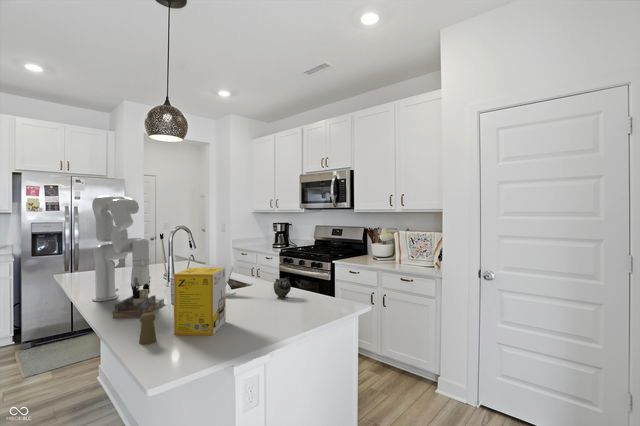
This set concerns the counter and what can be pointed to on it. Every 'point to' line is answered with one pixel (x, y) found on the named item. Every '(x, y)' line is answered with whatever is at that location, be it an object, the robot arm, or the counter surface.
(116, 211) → the robot arm
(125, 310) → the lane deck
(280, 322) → the counter surface
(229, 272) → the tablet stand
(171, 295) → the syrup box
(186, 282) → the packaging box
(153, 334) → the cork
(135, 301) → the ash block
